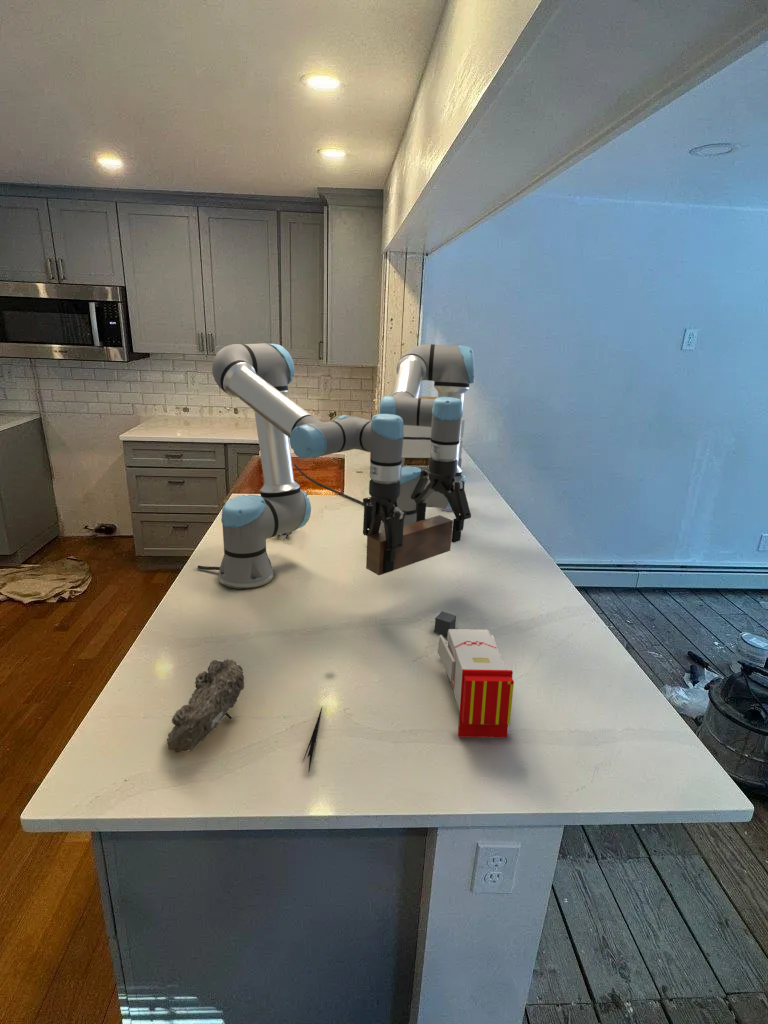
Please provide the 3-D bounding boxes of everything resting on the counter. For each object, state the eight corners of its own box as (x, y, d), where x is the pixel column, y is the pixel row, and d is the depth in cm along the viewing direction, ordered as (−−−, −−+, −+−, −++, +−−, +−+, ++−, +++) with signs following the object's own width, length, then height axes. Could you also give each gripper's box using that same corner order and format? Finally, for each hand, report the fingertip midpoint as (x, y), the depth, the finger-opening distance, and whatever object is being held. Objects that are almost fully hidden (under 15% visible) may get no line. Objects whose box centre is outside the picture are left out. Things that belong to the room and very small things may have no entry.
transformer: (382, 463, 289) (386, 382, 275) (445, 464, 293) (451, 384, 279) (390, 482, 257) (394, 392, 243) (460, 483, 261) (468, 394, 247)
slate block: (434, 632, 140) (435, 617, 139) (440, 624, 143) (441, 610, 142) (448, 636, 138) (450, 622, 137) (455, 629, 142) (456, 615, 140)
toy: (488, 613, 130) (523, 677, 101) (484, 667, 133) (517, 744, 104) (435, 612, 130) (455, 676, 101) (432, 666, 133) (451, 743, 103)
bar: (378, 575, 141) (380, 542, 138) (366, 568, 144) (367, 535, 141) (450, 550, 157) (453, 520, 154) (437, 544, 160) (439, 515, 157)
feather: (331, 679, 122) (336, 673, 122) (307, 777, 96) (313, 769, 95) (324, 675, 122) (329, 669, 121) (298, 772, 95) (304, 764, 95)
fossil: (192, 660, 117) (244, 628, 112) (224, 691, 120) (276, 661, 115) (142, 746, 98) (202, 712, 93) (182, 779, 101) (242, 748, 96)
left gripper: (349, 473, 140) (347, 558, 148) (398, 492, 128) (393, 584, 135) (373, 468, 145) (369, 552, 153) (422, 486, 132) (416, 576, 140)
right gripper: (400, 449, 154) (397, 522, 162) (470, 471, 137) (462, 551, 144) (420, 446, 159) (416, 516, 166) (490, 467, 141) (481, 545, 149)
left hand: (380, 567), depth 144 cm, fingers closed on bar, 5 cm apart
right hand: (437, 533), depth 155 cm, fingers open, 13 cm apart
